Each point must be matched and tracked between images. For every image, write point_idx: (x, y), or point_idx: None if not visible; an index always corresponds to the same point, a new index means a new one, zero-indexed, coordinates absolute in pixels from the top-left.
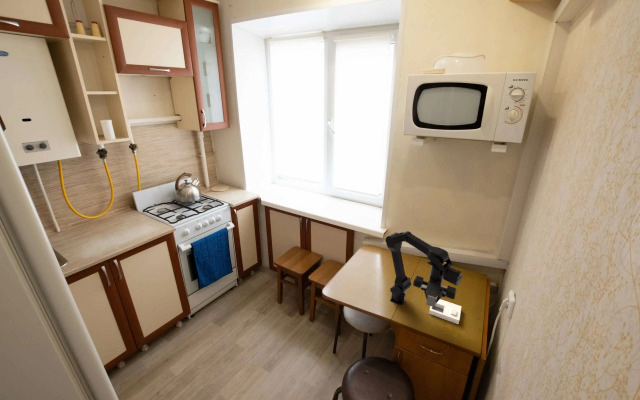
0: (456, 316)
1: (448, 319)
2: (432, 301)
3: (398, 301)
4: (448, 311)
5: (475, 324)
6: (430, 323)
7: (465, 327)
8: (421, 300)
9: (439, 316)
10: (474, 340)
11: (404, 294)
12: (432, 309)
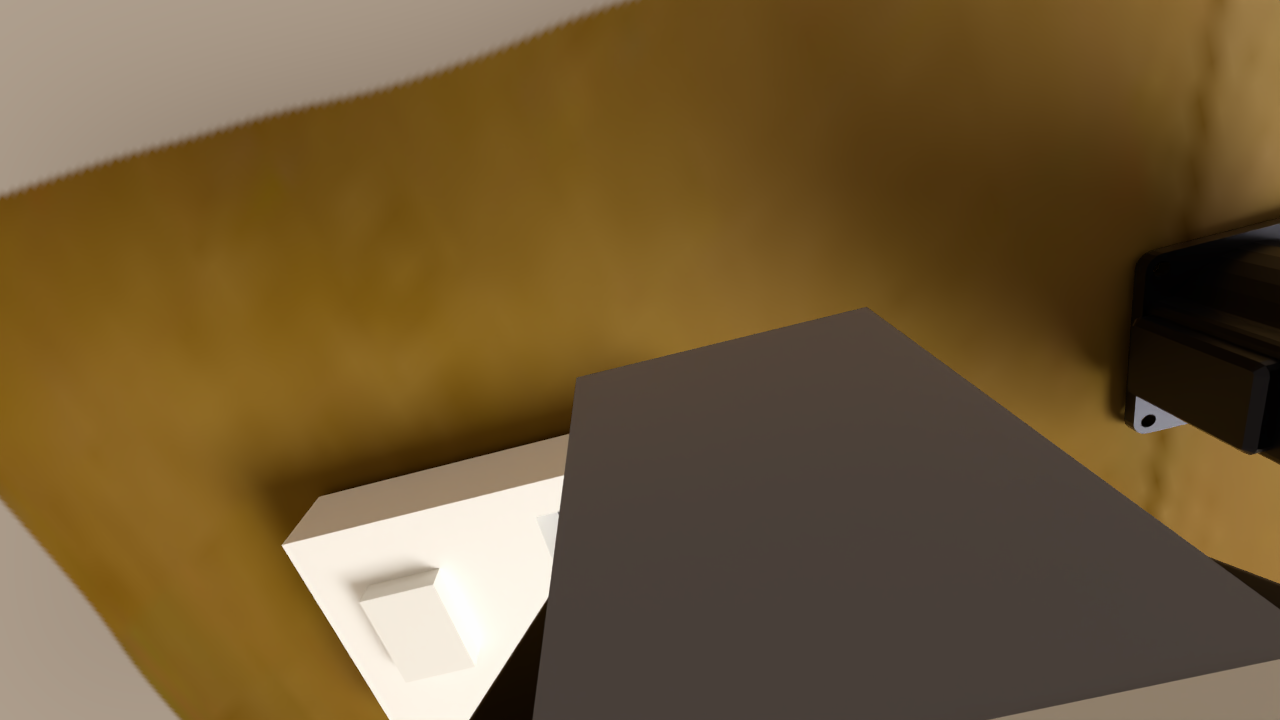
0: (357, 586)
1: (440, 476)
2: (716, 479)
3: (1236, 264)
4: (492, 595)
5: (195, 633)
6: (607, 230)
7: (235, 513)
8: None
9: (565, 443)
10: (8, 388)
11: (1272, 421)
12: None
